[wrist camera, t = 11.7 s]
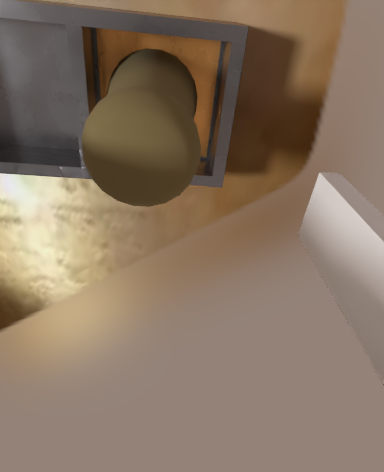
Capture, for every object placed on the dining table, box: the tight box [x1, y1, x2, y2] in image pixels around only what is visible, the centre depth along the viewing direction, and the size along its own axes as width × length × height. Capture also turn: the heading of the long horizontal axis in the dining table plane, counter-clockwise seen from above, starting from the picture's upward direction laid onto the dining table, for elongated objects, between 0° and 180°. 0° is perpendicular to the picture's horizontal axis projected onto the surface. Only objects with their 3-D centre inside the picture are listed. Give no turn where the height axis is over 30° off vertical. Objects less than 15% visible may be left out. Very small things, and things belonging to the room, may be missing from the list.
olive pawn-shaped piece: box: [81, 48, 201, 206], centre depth 18 cm, size 6×6×11 cm
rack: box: [0, 0, 249, 187], centre depth 21 cm, size 27×10×4 cm, turn 85°
